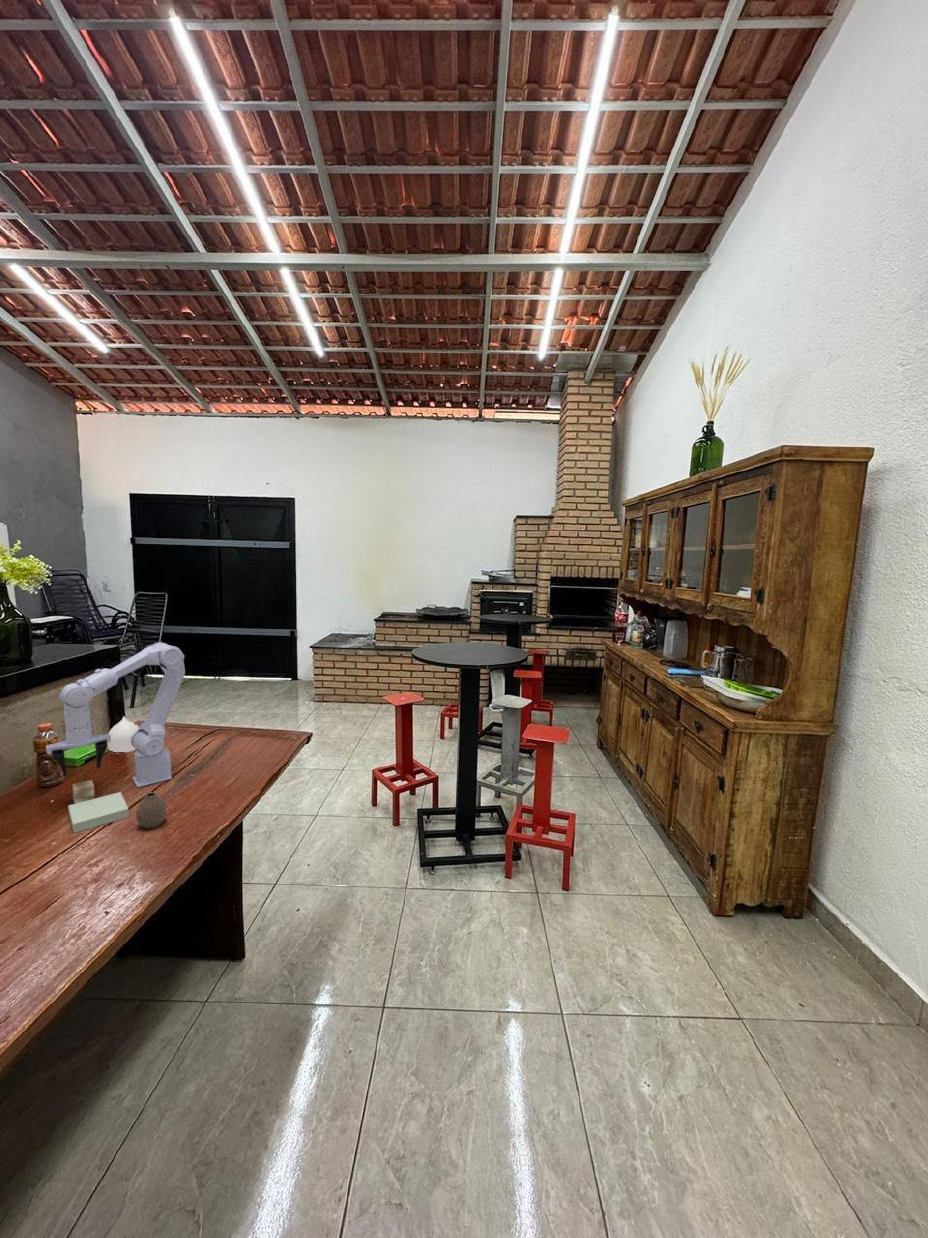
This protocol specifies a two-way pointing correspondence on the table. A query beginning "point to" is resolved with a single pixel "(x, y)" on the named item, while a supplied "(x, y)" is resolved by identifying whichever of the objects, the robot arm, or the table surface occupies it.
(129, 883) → the table surface
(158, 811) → the vase
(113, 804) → the base slab
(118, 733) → the teardrop
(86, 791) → the beech block
